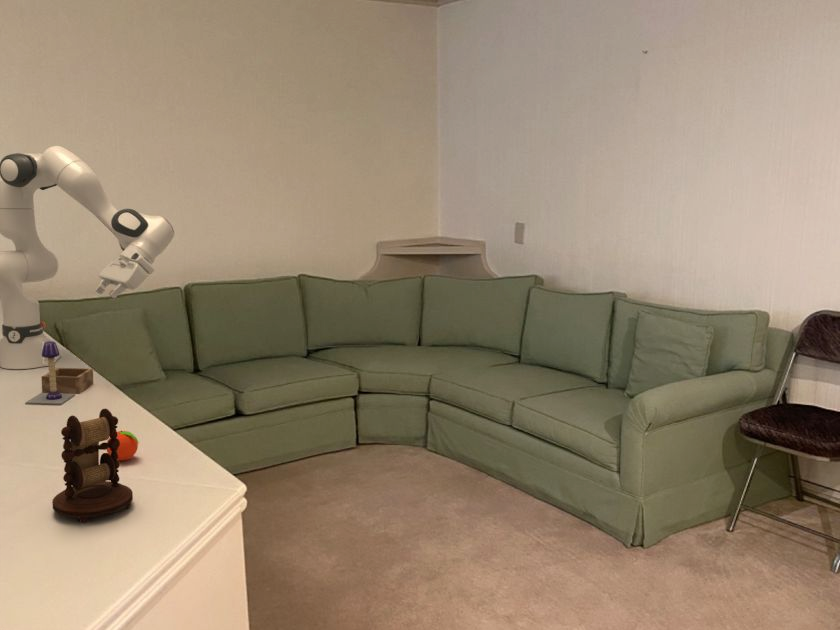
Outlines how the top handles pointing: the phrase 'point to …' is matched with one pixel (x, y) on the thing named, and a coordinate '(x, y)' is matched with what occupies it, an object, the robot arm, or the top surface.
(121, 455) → the clementine
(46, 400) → the slate mat
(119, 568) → the top surface
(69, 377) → the walnut crate
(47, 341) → the robot arm
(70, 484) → the brown wooden spool rack
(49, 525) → the top surface
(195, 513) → the top surface
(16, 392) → the top surface
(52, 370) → the toy lamp
